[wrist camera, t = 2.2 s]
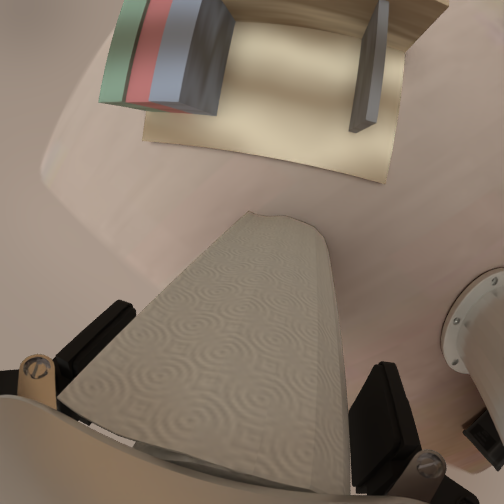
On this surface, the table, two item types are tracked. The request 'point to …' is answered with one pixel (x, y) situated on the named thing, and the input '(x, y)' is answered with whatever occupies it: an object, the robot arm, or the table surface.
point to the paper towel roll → (234, 365)
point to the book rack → (269, 75)
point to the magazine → (487, 439)
